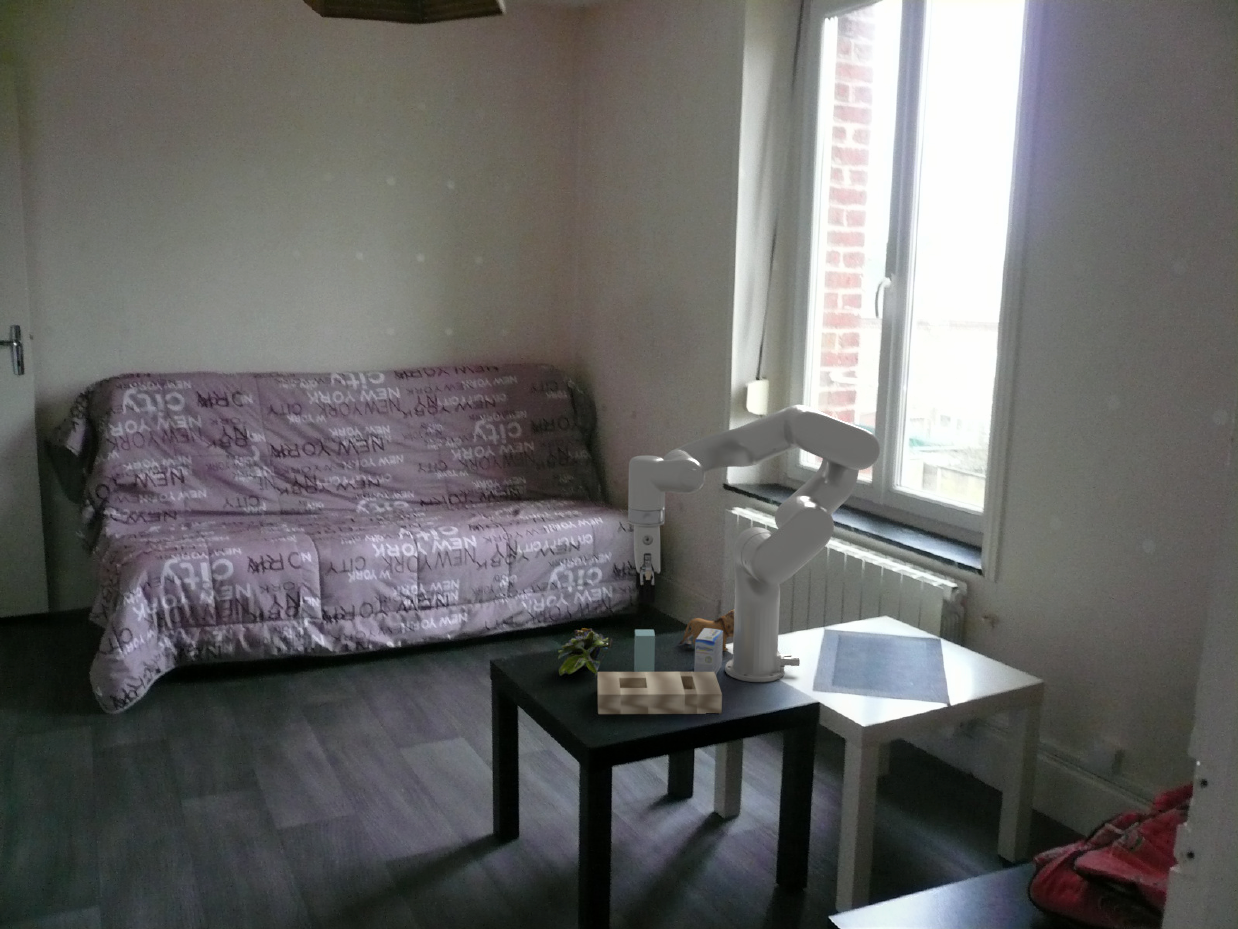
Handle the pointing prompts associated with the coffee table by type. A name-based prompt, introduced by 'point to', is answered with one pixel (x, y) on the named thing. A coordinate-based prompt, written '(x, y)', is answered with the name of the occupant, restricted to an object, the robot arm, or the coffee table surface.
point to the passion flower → (583, 651)
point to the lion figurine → (721, 623)
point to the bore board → (658, 693)
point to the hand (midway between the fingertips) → (645, 595)
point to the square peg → (644, 651)
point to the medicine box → (708, 651)
